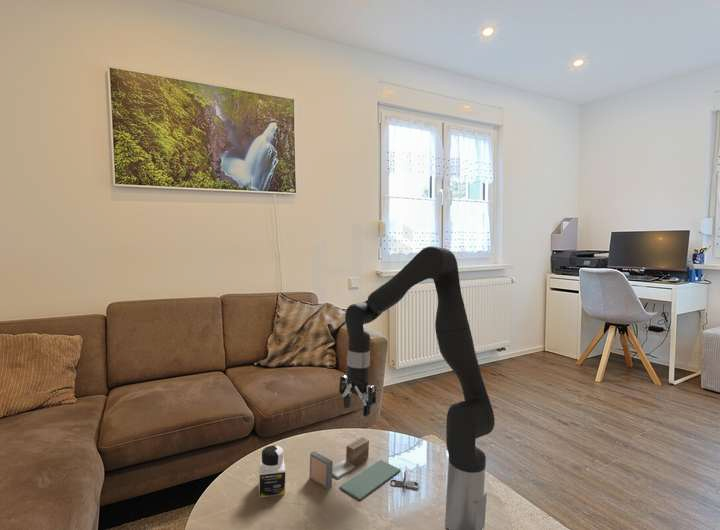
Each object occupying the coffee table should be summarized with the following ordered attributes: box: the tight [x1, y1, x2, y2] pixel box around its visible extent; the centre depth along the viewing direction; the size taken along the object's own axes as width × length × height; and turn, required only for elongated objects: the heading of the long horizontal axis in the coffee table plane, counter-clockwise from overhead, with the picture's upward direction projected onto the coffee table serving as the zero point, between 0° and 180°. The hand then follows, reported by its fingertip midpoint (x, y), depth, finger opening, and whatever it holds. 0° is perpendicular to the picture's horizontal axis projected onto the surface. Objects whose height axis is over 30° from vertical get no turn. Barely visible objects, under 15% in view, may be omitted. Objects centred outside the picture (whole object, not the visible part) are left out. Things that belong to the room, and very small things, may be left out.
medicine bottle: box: [258, 445, 287, 499], centre depth 114 cm, size 7×7×12 cm
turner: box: [332, 437, 370, 480], centre depth 128 cm, size 5×16×6 cm, turn 139°
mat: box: [339, 459, 401, 501], centre depth 121 cm, size 8×20×1 cm, turn 139°
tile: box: [309, 450, 334, 490], centre depth 118 cm, size 8×2×8 cm, turn 49°
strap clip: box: [389, 470, 420, 491], centre depth 119 cm, size 8×3×4 cm, turn 80°
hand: (356, 411), depth 129 cm, fingers open, 8 cm apart
